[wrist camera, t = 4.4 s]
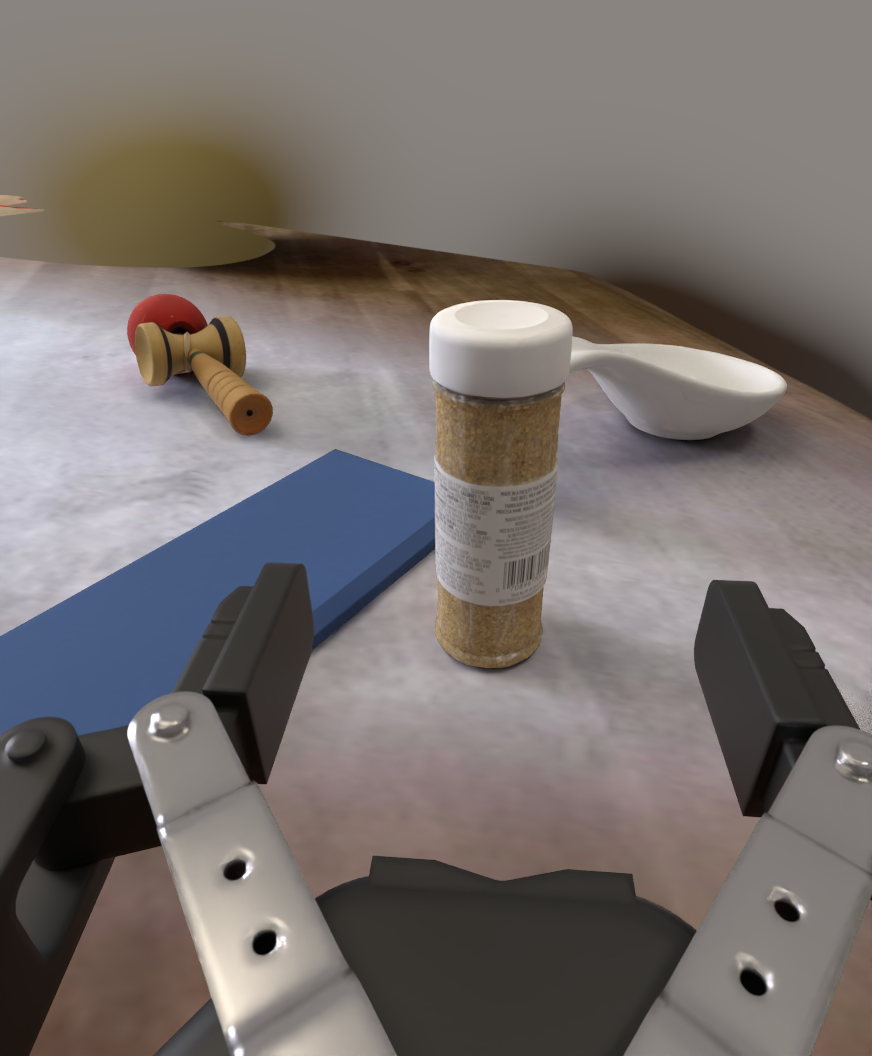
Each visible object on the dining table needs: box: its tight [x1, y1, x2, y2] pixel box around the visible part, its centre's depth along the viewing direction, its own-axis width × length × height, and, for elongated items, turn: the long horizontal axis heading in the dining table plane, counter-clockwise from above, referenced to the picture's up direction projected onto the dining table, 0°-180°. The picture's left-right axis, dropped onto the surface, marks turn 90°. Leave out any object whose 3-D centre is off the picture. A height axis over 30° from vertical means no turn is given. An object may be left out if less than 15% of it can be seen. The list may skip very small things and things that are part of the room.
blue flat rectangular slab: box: [0, 449, 435, 736], centre depth 32 cm, size 24×11×1 cm, turn 145°
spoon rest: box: [569, 337, 787, 440], centre depth 42 cm, size 24×12×7 cm, turn 127°
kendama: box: [127, 294, 273, 435], centre depth 50 cm, size 8×6×18 cm
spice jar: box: [429, 300, 573, 668], centre depth 26 cm, size 5×5×13 cm
